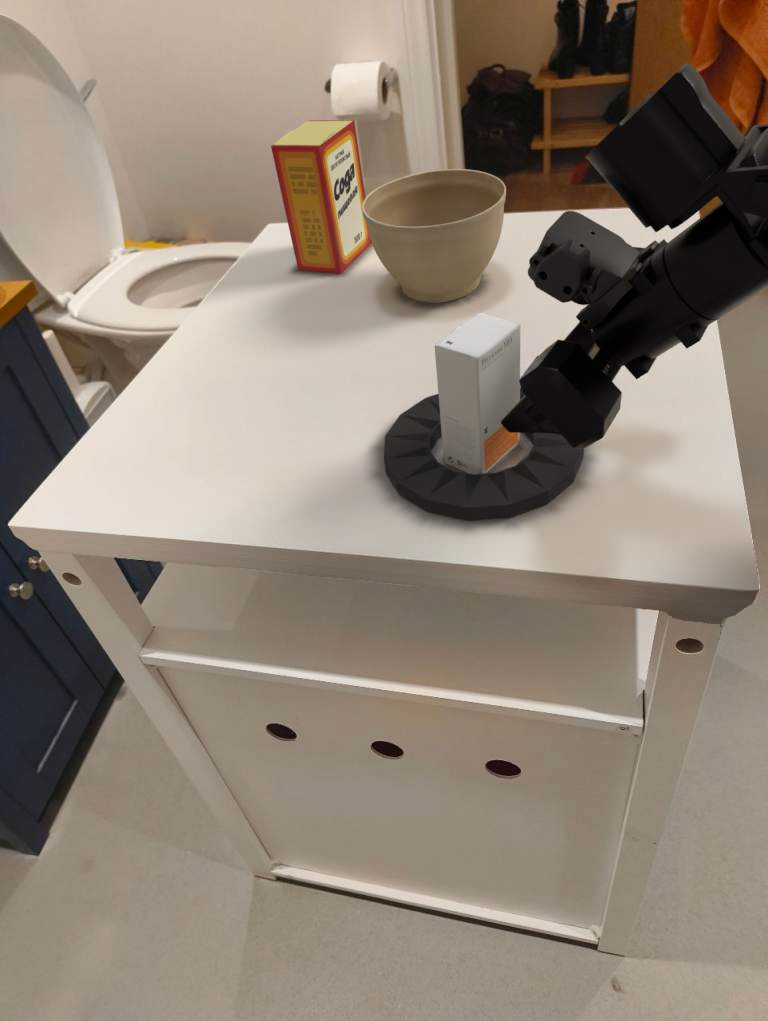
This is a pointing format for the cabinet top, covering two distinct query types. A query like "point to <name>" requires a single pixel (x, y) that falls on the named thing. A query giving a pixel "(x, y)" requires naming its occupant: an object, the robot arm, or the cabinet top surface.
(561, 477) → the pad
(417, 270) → the planter bowl
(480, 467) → the cosmetic box
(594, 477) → the cabinet top surface
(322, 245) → the baking soda box
